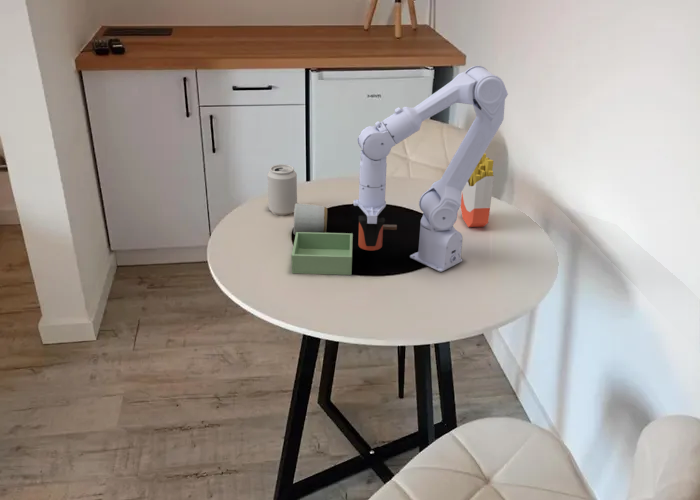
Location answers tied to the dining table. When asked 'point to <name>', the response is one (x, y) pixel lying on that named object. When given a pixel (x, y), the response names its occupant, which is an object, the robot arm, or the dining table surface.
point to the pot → (379, 241)
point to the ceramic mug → (310, 218)
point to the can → (282, 189)
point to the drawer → (322, 253)
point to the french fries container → (478, 194)
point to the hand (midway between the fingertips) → (370, 239)
